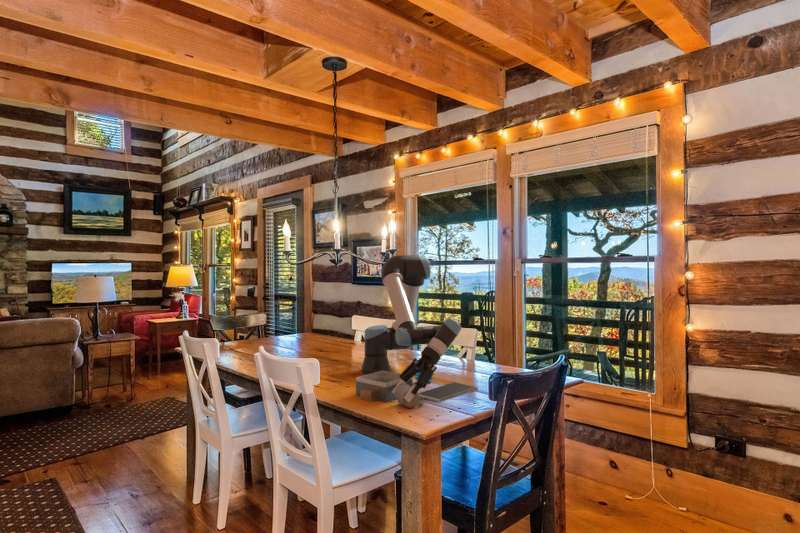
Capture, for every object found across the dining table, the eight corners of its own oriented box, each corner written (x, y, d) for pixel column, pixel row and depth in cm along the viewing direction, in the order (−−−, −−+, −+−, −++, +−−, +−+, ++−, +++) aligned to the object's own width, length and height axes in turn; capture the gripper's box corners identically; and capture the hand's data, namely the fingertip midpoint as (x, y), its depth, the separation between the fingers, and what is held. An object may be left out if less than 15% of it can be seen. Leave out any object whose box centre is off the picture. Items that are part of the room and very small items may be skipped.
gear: (416, 382, 213) (411, 363, 220) (411, 389, 217) (407, 370, 224) (437, 382, 218) (432, 364, 224) (432, 389, 221) (427, 371, 228)
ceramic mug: (403, 409, 178) (403, 389, 178) (394, 404, 185) (394, 384, 185) (428, 406, 182) (428, 386, 182) (419, 401, 190) (419, 382, 190)
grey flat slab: (414, 397, 197) (414, 393, 197) (455, 385, 216) (455, 381, 216) (438, 404, 187) (438, 400, 187) (478, 390, 206) (478, 386, 206)
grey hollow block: (350, 396, 197) (350, 378, 197) (382, 386, 212) (382, 370, 212) (381, 404, 186) (381, 385, 186) (412, 393, 201) (412, 375, 201)
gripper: (455, 362, 182) (421, 410, 174) (424, 353, 200) (392, 396, 192) (444, 349, 179) (408, 398, 171) (413, 342, 198) (380, 385, 189)
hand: (400, 397), depth 182 cm, fingers closed on ceramic mug, 9 cm apart
